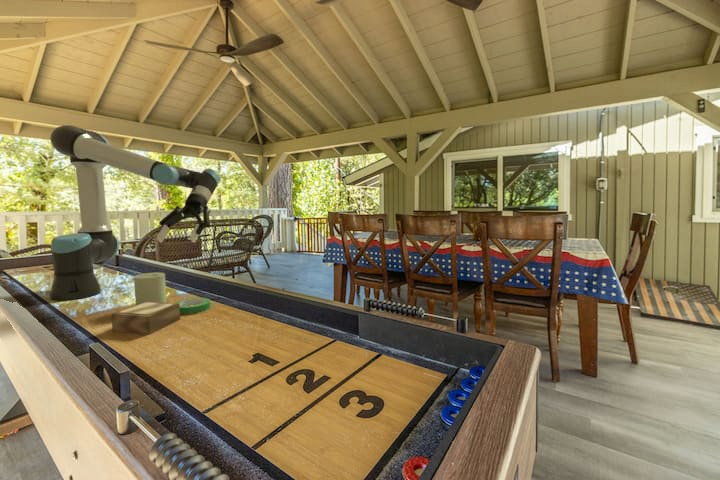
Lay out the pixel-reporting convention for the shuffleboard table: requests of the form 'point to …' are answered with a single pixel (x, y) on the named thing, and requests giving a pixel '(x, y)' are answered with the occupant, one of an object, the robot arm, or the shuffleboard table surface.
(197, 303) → the tape roll
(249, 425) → the shuffleboard table surface
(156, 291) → the can
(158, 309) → the plinth
